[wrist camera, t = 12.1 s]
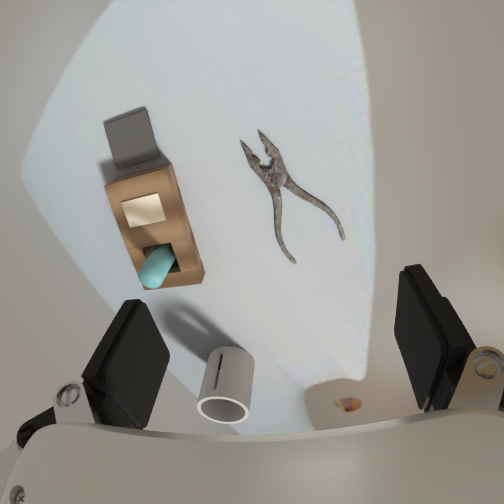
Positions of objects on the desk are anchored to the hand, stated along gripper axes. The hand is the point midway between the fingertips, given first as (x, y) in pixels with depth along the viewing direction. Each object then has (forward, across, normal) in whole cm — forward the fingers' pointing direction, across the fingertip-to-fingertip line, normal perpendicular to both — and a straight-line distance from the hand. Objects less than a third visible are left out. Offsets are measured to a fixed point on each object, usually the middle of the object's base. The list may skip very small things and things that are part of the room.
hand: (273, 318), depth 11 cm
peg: (+33, +19, +12) cm, 40 cm away
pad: (+33, +20, -6) cm, 39 cm away
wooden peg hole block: (+33, +19, +8) cm, 39 cm away
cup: (+33, +15, +38) cm, 53 cm away
